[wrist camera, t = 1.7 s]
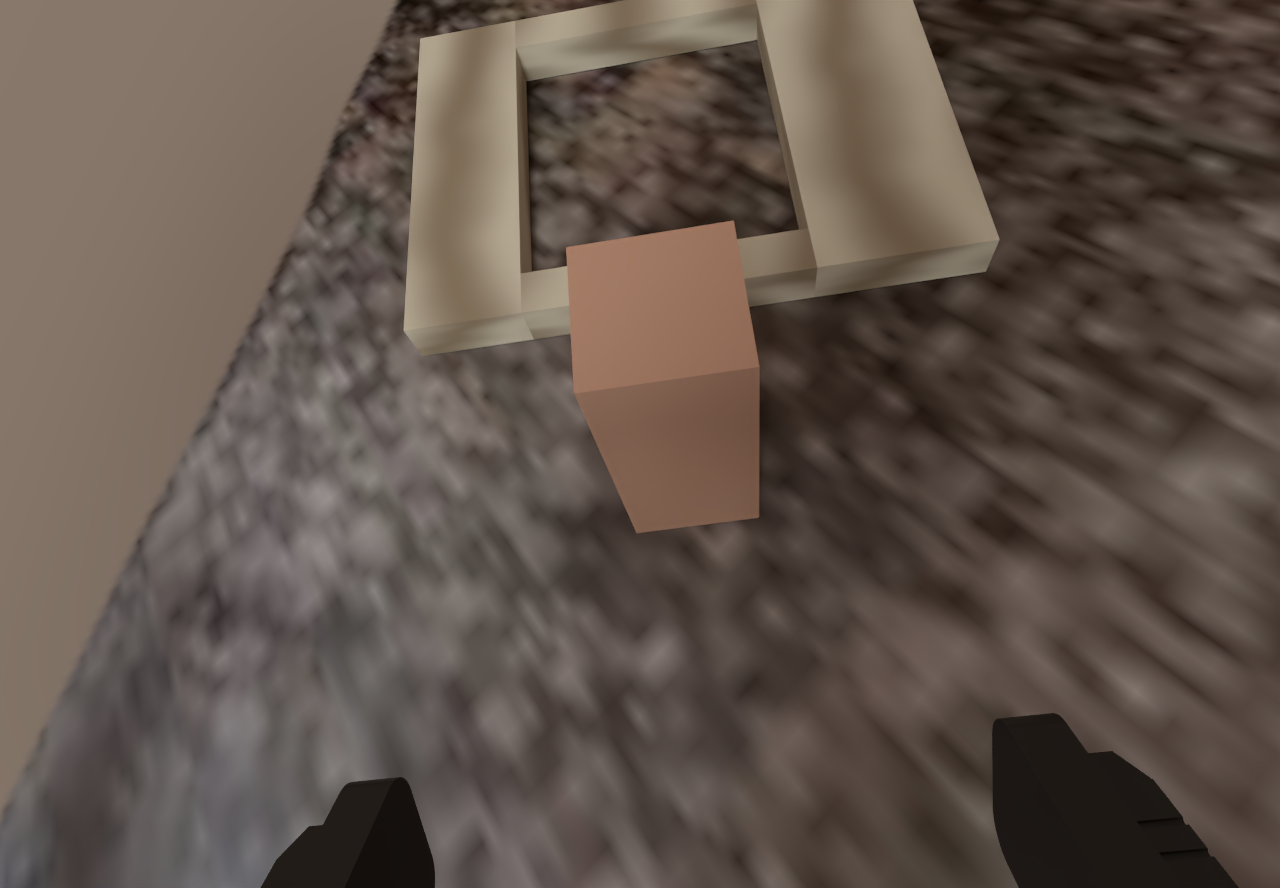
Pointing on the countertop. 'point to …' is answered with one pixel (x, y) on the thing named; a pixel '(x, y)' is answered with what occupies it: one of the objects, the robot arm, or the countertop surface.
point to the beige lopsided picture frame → (808, 134)
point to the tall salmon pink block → (669, 373)
